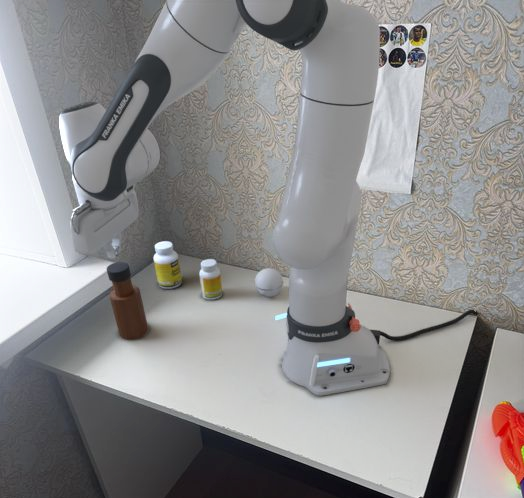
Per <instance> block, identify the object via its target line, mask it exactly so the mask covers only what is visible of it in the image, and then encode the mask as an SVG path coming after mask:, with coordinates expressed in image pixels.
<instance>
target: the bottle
mask: <svg viewBox="0 0 524 498" xmlns="http://www.w3.org/2000/svg"><path fill="white" fill-rule="evenodd" d="M111 284H112V287H113V288H112V289H111V290H109V293H108V297H109V301H110V305H111V308H112V312H113V315H114V318H115V323H116V327H117V330H118V334H119V336H120V337H121V338H122V339H123V340H127V341H133V340H138V339H141V338H143V337H144V336H146V335H147V334H148V333H149V325H148V321H147V316H146V311H145V307H144V302H143V300H142V299H143V298H142V293H141V289H140V287H138V286H137V285H135V284H133V283H132V278H131V277H130V278H129V279H127V280H125V281H122V282H112V281H111Z"/></svg>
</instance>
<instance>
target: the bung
mask: <svg viewBox="0 0 524 498" xmlns="http://www.w3.org/2000/svg"><path fill="white" fill-rule="evenodd" d="M106 273H107V276H108V280H109V281H111V283H112V282H122V281H125V280H127V279H129V278H131V276H132V274H131V268H130V265H129V264H128V262H125V261H117V262H113V263H111V264H109V265H107V266H106Z"/></svg>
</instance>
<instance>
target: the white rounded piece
mask: <svg viewBox="0 0 524 498" xmlns="http://www.w3.org/2000/svg"><path fill="white" fill-rule="evenodd" d="M254 286H255V290H256V291H257V292H258V293H259V295H261V296H263V297H266V298H271V297H275V296H276V295H278V294H279V293H280V292H281V291H282V289H283V287H284V278H283V275H282V274H281V273H280V272H279V271H278V270H276V269H275V268H272V267H267V268H263V269H261V270H260V271H259V272H258V273H257V274H256V276H255V277H254ZM285 287H288V288H289V285H287V286H286V285H285Z"/></svg>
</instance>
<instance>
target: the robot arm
mask: <svg viewBox="0 0 524 498" xmlns="http://www.w3.org/2000/svg"><path fill="white" fill-rule="evenodd" d="M246 27H248V28H250V29H251V30H253V31H254V32H255V33H257V34H258V35H261V36H262V37H264V38H266V39H268V40H270V41H273V42H275V43H277V44H279V45H280V46H283V47H284V48H286V49H288V50H290V51H293V52H296V51H299V52H300V55H301V61H302V63H301V65H302V67H301V81H300V87H299V88H300V89H299V98H298V108H297V119H296V127H295V129H296V130H295V138H294V146H293V151H292V156H291V161H290V163H289V164H290V165H289V168H288V172H287V176H286V180H285V185H284V188H283V189H284V190H283V193H282V198H281V203H280V208H279V213H278V217H277V220H276V222H275V224H274V228H273V230H272V231H273V232H272V237H271V238H272V246H273V249H274V251H275V253H276V255H277V257H278V258H279V259H280V260H281V261H282V262H283V263H284V264H286V265H287V266H288V267H290V269H289V273H288V307H287V310H286V312H285V313H281V314H278V315H275V316H274V318H275V319H274V320H275V321H278V320H282V319H285V318H286V319H285V320H286V321H285V323H286V324H285V326H286V334H287V343H286V349H285V353H284V357H283V359H282V362H281V369H282V371H283V374H284V375H285V376H286V377H287V379H288V380H289V381H291V382H292V383H295V384H296V385H298V386H300V387H304V388H306V389H307V390H309V392H311V393H312V394H314V395H316V396H319V397H322V396H323V397H324V396H328V395H333V394H338V393H343V392H344V393H345V392H350V391H355V390H360V389H361V390H362V389H366V388H372V387H377V386H382V385H386V383H387V382H388V381H389V378H390V372H391V371H390V367H391V366H390V362H389V359H388V356H387V354H386V352H385V350H384V349H383V348H382V347H381V346H380V341H381V337H383V338H385V339H386V340H389V341H393V342H396V341H397V342H399V341H405V340H409V339H411V338H414V337H417V336H419V335H423V334H426V333H429V332H433V331H436V330H439V329H444V328H446V327H449V326H452V325H455V324H457V323H459V322H461V321H462V320H464V319H465V318H467V316H469V315H471V314H472V315H474V316H475V315H476V316H477V315H479V312H478V311H477V310H476V312H475V311H474V310H475V309H469V310H467V311H465V312H463V313H462V314H461V315H459V316H457V317H456V318H454V319H451V320H448V321H446V322H443V323H439V324H436V325H433V326H429V327H426V328H422V329H419V330H416V331H414V332H411V333H408V334H404V335H399V336H393V335H390V334H388V333H386V332H384V331H381V330H380V329H379V330H378V329H371V328H370V329H369V328H368V327H366V326H364V325H362V324H360V320H359V319H357V318H356V313H355V311H354V310H353V307H352V305H351V304H350V302H348V303H347V293H348V281H349V274H350V268H351V262H352V258H353V252H354V246H355V241H356V235H357V229H358V223H359V215H360V208H361V203H362V192H361V188H360V184H359V183H358V181H357V178H358V175H359V172H360V167H361V166H362V162H363V160H364V156H365V152H366V146H367V141H368V136H369V131H370V124H371V120H372V114H373V109H374V103H375V98H376V91H377V86H378V78H379V69H380V68H379V67H380V53H381V29H380V25H379V21H378V20H377V18H376V17H375V16H374V15H373V13H371V11H369V10H368V9H366V8H365V7H362V6H360V5H357V4H352V3H346V2H344V1H342V0H166V1H165V3H164V4H163V7H162V9H161V11H160V13H159V15H158V17H157V19H156V22H155V23H154V26H153V27H152V29H151V31H150V34H149V35H148V37H147V39H146V41H145V43H144V45H143V47H142V49H141V50H140V52H139V53H138V55H137V57H136V59H135V61H134V63H133V65H132V66H131V68H130V70H129V72H128V73H127V75H126V76H125V78H124V80H123V81H122V83H121V84H120V86H119V88H118V89H117V91H116V92H115V94H114V96H113V98H112V100H111V101H110V103H109V105H108V106H107V108H105V107H104V106H103V105H102V104H101V103H99V102H97V101H86V102H82V103H78V104H76V105H71V106H69V107H67V108H64V109H63V110H62V111H61V112H60V114H59V119H58V122H59V123H58V124H59V132H60V138H61V143H62V147H63V151H64V155H65V157H66V160H67V162H68V164H69V165H70V170H71V180H72V182H73V187H74V190H75V191H74V192H75V195H76V198H77V202H78V205H79V206H77V207H75V208H74V209H72V214H71V217H70V221H69V228H70V234H71V241H72V246H73V249H74V251H75V253H77V254H78V256H79V255H80V256H84V257H85V256H87V257H93V256H95V254H96V253H98V252H100V250H102V249H103V250H104V251H105V252H106V255H107V258H108V259H116V258H117V257H118V256H119V255H120V254H121V253H123V252H122V247H121V245H122V238H123V236H122V232H123V231H124V230H125V229H127V228H128V227H129V226H130V225H131V224H133V223H134V222H135V221H136V220H138V218H139V215H140V210H139V209H140V208H139V202H138V196H137V192H136V191H135V187H136V184H137V183H138V182H140V181H142V180H143V179H144V178H145V177H147V176H148V175H149V176H150V174H151V173H153V172H154V171H155V170H156V169H157V168H158V167H159V165H160V162H161V158H162V157H161V155H162V154H161V148H160V144H159V141H158V138H157V137H156V136H155V134H154V133H153V132H152V130H150V128H149V127H150V126H151V124H152V123H153V121H154V120H155V119H156V118H157V117H158V116H159V115H160V114H161V113H162V112H163V111H164V110H166V109H167V108H168V107H169V106H170V105H172V104H174V103H175V102H177V101H179V100H180V99H182V98H183V97H185V96H187V95H189V94H190V93H192V92H193V91H194V92H195V90H198V88H200V87H202V86H203V85H204V84H205V83H207V81H208V80H209V79H211V77H212V76H213V75H214V74H215V73H216V72H217V70H218V69H219V68H220V67H221V66H222V64H223V63H224V61H225V60H226V58H227V56H228V55H229V54H230V52H231V50H232V48H234V45H235V44H236V42H237V40H238V38H239V37H240V36H241V34H242V33H243V31H245V29H246ZM347 305H348V306H347Z"/></svg>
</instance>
